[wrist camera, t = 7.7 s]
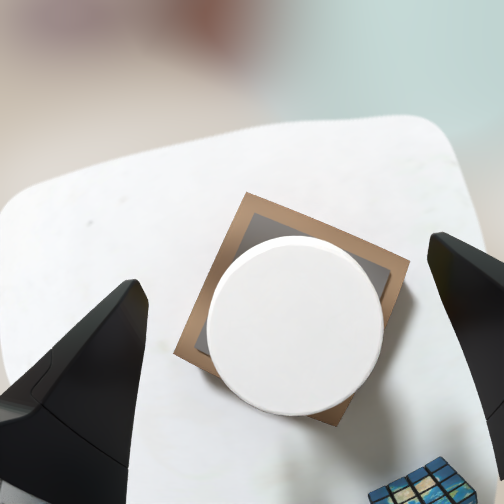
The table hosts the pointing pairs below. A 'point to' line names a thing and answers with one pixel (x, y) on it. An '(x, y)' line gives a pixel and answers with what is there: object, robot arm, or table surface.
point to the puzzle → (427, 487)
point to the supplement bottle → (295, 326)
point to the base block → (274, 226)
